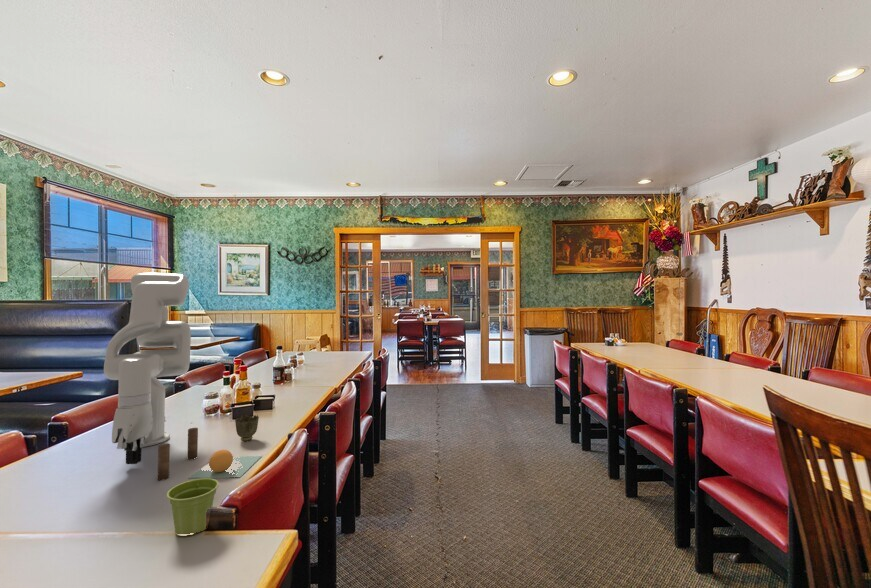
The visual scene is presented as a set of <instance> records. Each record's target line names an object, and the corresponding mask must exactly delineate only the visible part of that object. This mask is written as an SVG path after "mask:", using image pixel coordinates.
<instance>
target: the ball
mask: <svg viewBox="0 0 871 588" xmlns="http://www.w3.org/2000/svg"><path fill="white" fill-rule="evenodd" d="M233 456H234V455H233V453H232V452H231V451H230V450H228V449H219V450H216V451H215V452H214V453H213V454H212V455H211V456H210V458H209V460H208V462H209V466H210V468H211V470H213V471H214V472H223V471H225V470H227V469H228V468H229V467H230V466H231V464H232V462H233Z"/></svg>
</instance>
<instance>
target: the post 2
mask: <svg viewBox="0 0 871 588" xmlns="http://www.w3.org/2000/svg"><path fill="white" fill-rule="evenodd" d="M198 441H199V428H198V427H192V428H188V429H187V458H188V459H193V460H195V459H194V458H196V457H197V458H198V454H199V453H198V447H199V444H198V443H199V442H198ZM197 458H196V459H197ZM188 459H187V460H188Z"/></svg>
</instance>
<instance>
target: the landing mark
mask: <svg viewBox="0 0 871 588" xmlns="http://www.w3.org/2000/svg"><path fill="white" fill-rule="evenodd" d="M232 456H233V457H234V455H232ZM239 457H240V458H238V457H237V458H236V457H235V458H236V459H235V458H234V459H235V460H236V461H239V460H240V461H239V462H240V463H241V464H242V466H243V468H241V467H242V466H240V467H238V468H239V469H237V471H235V470H233V472H234V473H235V474H233V475H232V473H233V472H232V473H230V474H229V472H226V471H223V472H214V471H212V470H211V471H212V472H211V471H209V470H208V471H207V470H206V471H204V470H203V471H202V470H201V468H199V469H200V470H199V469H198V470H196V471H195V472H194V473H192V475H190V476H189V477H188V479H189V480H190V479H203V478H210V479H230V478H229V477H234V478H233V479H236V478H235V477H239V478H238V479H240V478H241V477H243V476H244V474H246V472H247V470H248V469H249V468H250V467H251V466H252V465H253V464H254V465H255V464H256V463H257V462H258V461H259V460H260V459H261V458H262V457H263V456H262V455H261V456H259V455H256V456H255V455H253V456H252V455H251V456H250V455H248V456H246V455H245V456H244V455H243V456H241V455H239ZM234 459H233V460H234ZM237 459H238V460H237ZM207 463H209V461H208V462H207ZM240 463H239V464H240ZM235 464H237V463H235ZM254 465H253V466H254ZM253 466H252V467H253ZM252 467H251V468H252ZM240 468H241V469H240ZM251 468H250V469H251ZM250 469H249V470H250ZM231 470H232V469H231ZM249 470H248V471H249ZM238 471H239V472H238ZM237 473H238V474H237ZM236 474H237V475H236Z"/></svg>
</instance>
